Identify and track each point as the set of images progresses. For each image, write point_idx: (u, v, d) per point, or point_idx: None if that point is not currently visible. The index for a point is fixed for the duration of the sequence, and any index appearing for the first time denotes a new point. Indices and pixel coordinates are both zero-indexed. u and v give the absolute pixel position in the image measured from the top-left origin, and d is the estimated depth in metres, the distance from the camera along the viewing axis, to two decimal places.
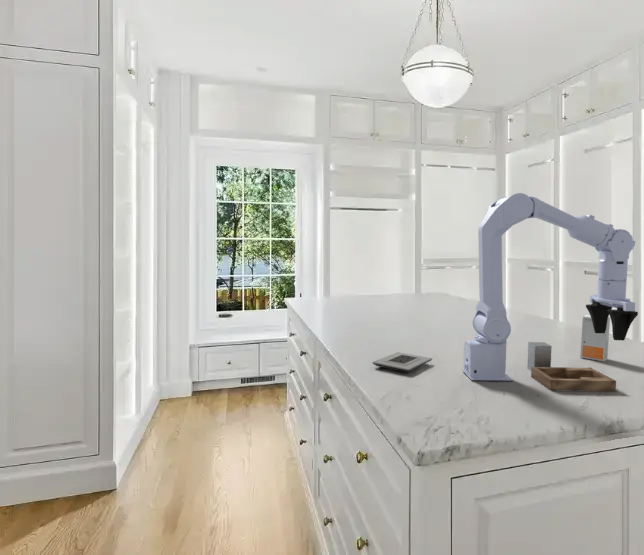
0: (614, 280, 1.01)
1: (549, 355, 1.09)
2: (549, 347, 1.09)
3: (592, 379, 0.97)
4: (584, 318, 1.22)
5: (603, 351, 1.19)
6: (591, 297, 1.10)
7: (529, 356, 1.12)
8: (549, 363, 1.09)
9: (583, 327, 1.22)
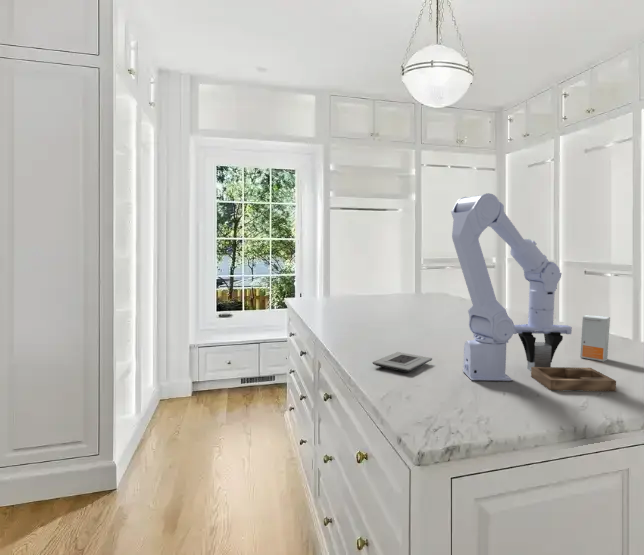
0: None
1: (549, 355, 1.09)
2: (549, 347, 1.09)
3: (592, 379, 0.97)
4: (584, 318, 1.22)
5: (603, 351, 1.19)
6: None
7: None
8: (549, 363, 1.09)
9: (583, 327, 1.22)
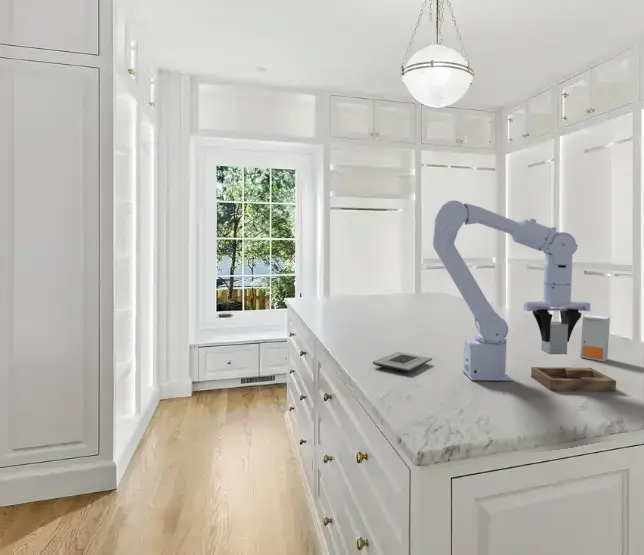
0: None
1: (565, 334, 1.01)
2: (565, 326, 1.01)
3: (592, 379, 0.97)
4: (584, 318, 1.22)
5: (603, 351, 1.19)
6: None
7: None
8: (565, 343, 1.02)
9: (583, 327, 1.22)
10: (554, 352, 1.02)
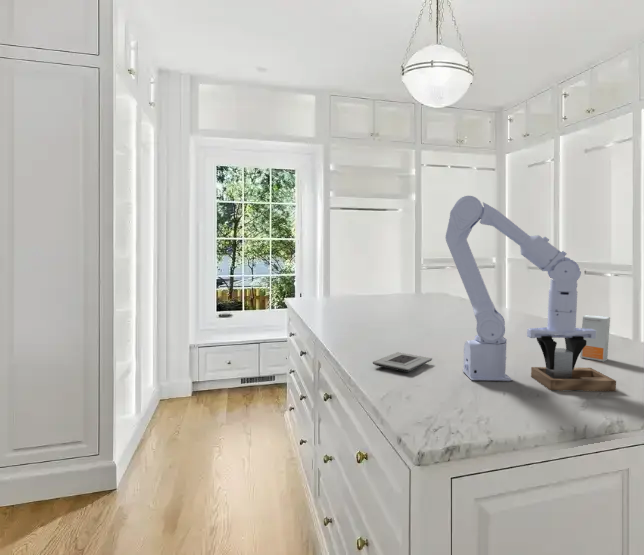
0: (548, 309, 1.01)
1: (570, 362, 0.99)
2: (570, 354, 0.99)
3: (592, 379, 0.97)
4: (584, 318, 1.22)
5: (603, 351, 1.19)
6: None
7: None
8: (570, 371, 0.99)
9: (583, 327, 1.22)
10: None
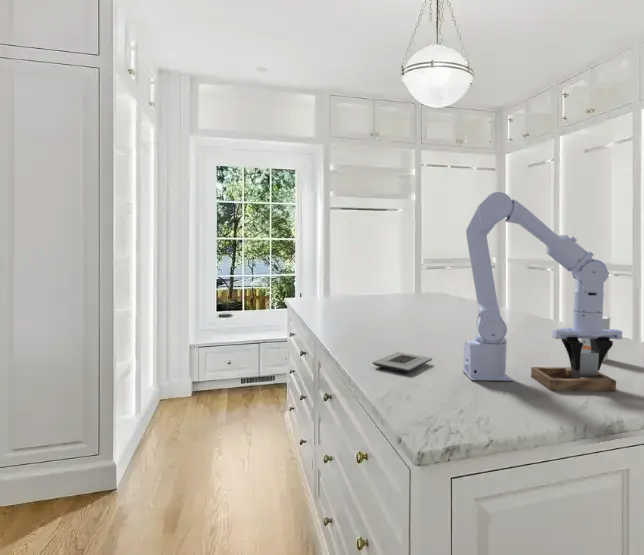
0: None
1: (596, 363, 0.99)
2: (596, 354, 0.99)
3: (592, 379, 0.97)
4: None
5: None
6: None
7: None
8: (596, 372, 0.99)
9: None
10: None
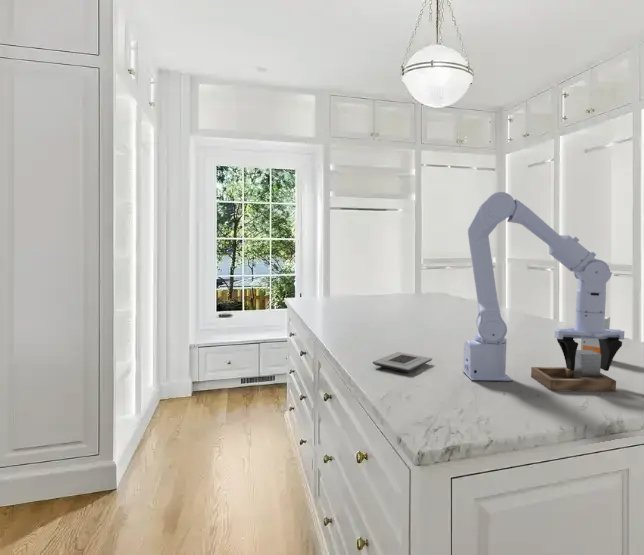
0: None
1: (598, 364, 0.99)
2: (598, 356, 0.99)
3: (592, 379, 0.97)
4: None
5: None
6: None
7: (575, 365, 1.02)
8: (598, 373, 0.99)
9: None
10: None
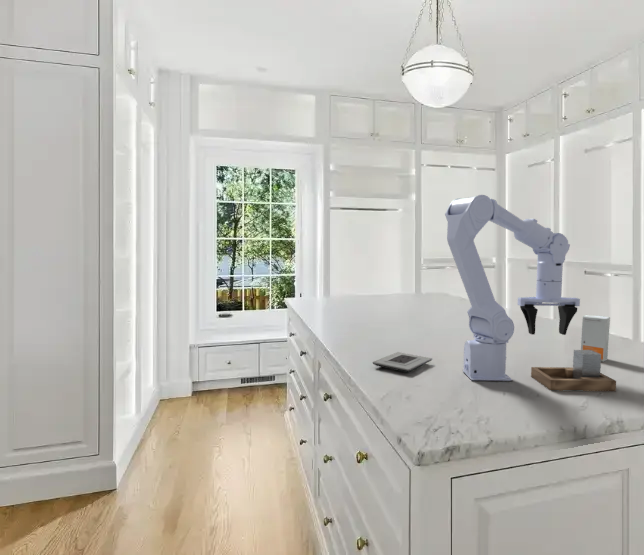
0: None
1: (598, 364, 0.99)
2: (598, 356, 0.99)
3: (592, 379, 0.97)
4: (584, 318, 1.22)
5: (603, 351, 1.19)
6: None
7: (575, 365, 1.02)
8: (598, 373, 0.99)
9: (583, 327, 1.22)
10: None
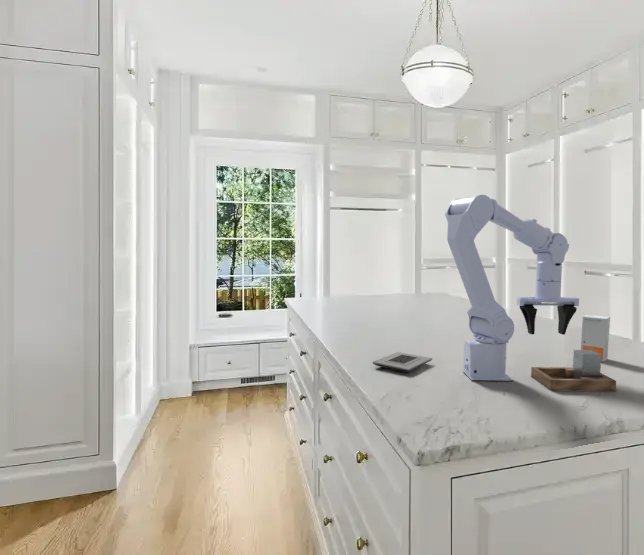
0: (536, 279, 1.11)
1: (598, 364, 0.99)
2: (598, 356, 0.99)
3: (592, 379, 0.97)
4: (584, 318, 1.22)
5: (603, 351, 1.19)
6: None
7: (575, 365, 1.02)
8: (598, 373, 0.99)
9: (583, 327, 1.22)
10: None
